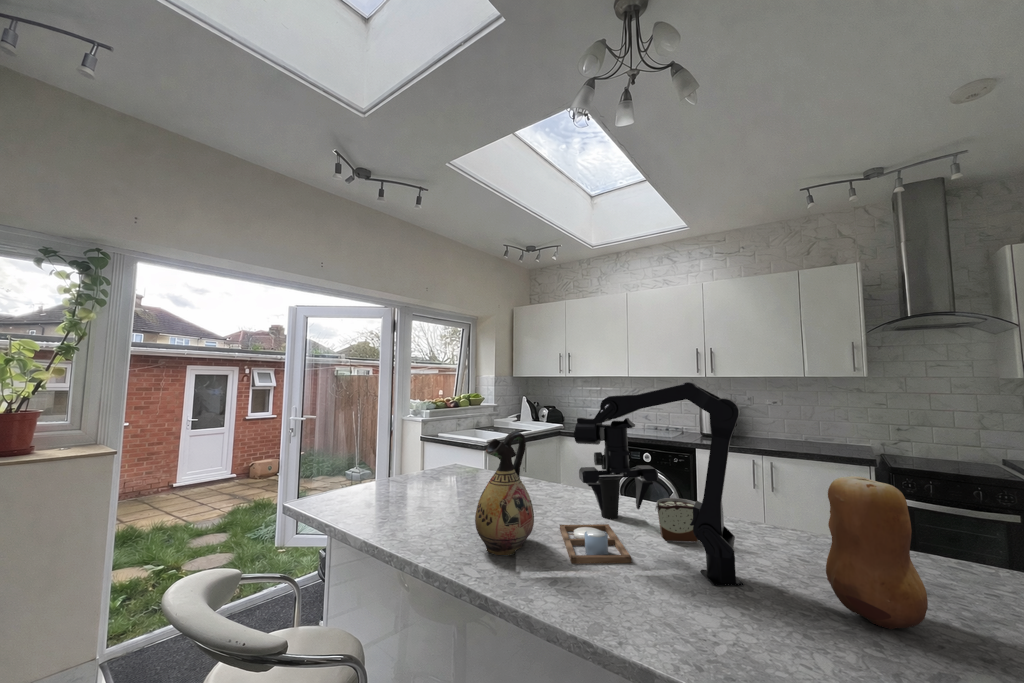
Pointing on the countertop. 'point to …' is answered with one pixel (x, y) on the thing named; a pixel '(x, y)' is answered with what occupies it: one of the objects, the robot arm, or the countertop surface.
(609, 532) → the rack
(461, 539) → the countertop surface
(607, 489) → the drinking cup
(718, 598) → the countertop surface
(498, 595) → the countertop surface
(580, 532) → the white smooth oval
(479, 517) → the ceramic jug
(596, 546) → the white-capped blue cylinder
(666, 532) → the food container
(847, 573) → the butternut squash
